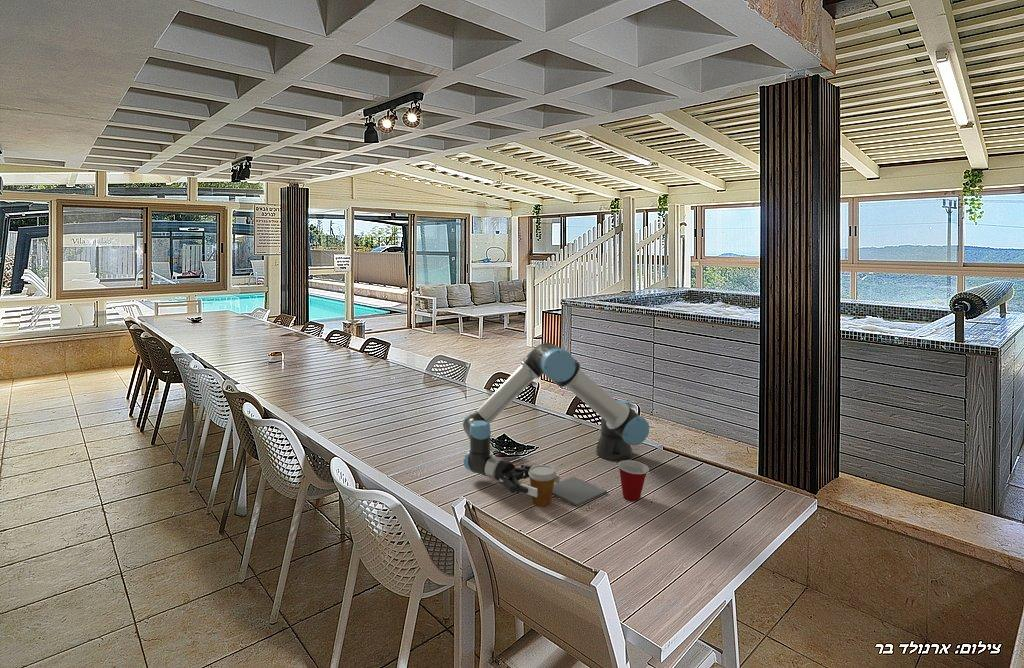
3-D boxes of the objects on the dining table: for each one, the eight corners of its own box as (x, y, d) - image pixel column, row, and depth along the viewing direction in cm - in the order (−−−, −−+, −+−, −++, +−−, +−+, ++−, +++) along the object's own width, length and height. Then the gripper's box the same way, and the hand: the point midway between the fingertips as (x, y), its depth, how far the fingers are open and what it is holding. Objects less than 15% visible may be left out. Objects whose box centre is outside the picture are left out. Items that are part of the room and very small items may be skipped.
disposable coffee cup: (524, 498, 199) (524, 466, 197) (549, 495, 202) (550, 463, 200) (533, 510, 190) (533, 477, 188) (559, 507, 193) (560, 473, 191)
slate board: (573, 479, 216) (573, 476, 216) (606, 493, 204) (607, 490, 204) (543, 491, 205) (543, 488, 205) (577, 506, 194) (577, 504, 193)
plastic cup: (648, 506, 195) (650, 473, 193) (616, 503, 197) (617, 470, 195) (647, 492, 205) (649, 460, 203) (616, 489, 207) (618, 458, 205)
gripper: (521, 469, 217) (568, 484, 204) (477, 491, 197) (526, 509, 184) (521, 450, 215) (568, 464, 202) (477, 471, 196) (526, 488, 183)
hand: (548, 486), depth 193 cm, fingers open, 13 cm apart
